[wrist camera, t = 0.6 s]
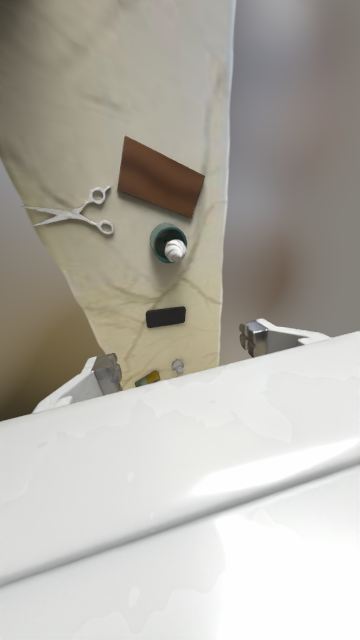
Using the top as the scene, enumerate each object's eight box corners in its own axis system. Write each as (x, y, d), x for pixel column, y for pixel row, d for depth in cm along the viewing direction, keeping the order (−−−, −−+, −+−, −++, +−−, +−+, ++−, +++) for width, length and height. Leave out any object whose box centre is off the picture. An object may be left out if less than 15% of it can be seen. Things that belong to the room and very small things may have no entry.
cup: (154, 218, 51) (158, 221, 47) (185, 229, 55) (191, 233, 51) (146, 252, 55) (149, 258, 51) (175, 260, 59) (180, 266, 55)
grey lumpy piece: (181, 356, 87) (187, 369, 81) (182, 365, 91) (187, 379, 85) (170, 359, 86) (175, 373, 80) (171, 368, 90) (176, 382, 84)
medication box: (137, 384, 89) (139, 392, 87) (134, 382, 88) (135, 390, 85) (158, 372, 88) (161, 379, 86) (156, 370, 86) (158, 377, 84)
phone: (145, 312, 66) (185, 307, 70) (145, 310, 67) (185, 305, 71) (147, 328, 71) (184, 322, 74) (147, 327, 71) (184, 321, 75)
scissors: (120, 233, 50) (36, 241, 45) (120, 232, 50) (37, 240, 46) (110, 183, 43) (11, 188, 39) (110, 183, 44) (12, 188, 39)
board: (124, 136, 40) (125, 135, 39) (203, 176, 49) (205, 176, 48) (117, 189, 45) (117, 189, 44) (189, 217, 53) (191, 218, 52)
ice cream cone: (161, 254, 57) (175, 272, 45) (153, 236, 53) (165, 251, 42) (177, 245, 57) (195, 261, 45) (170, 227, 53) (187, 239, 42)
